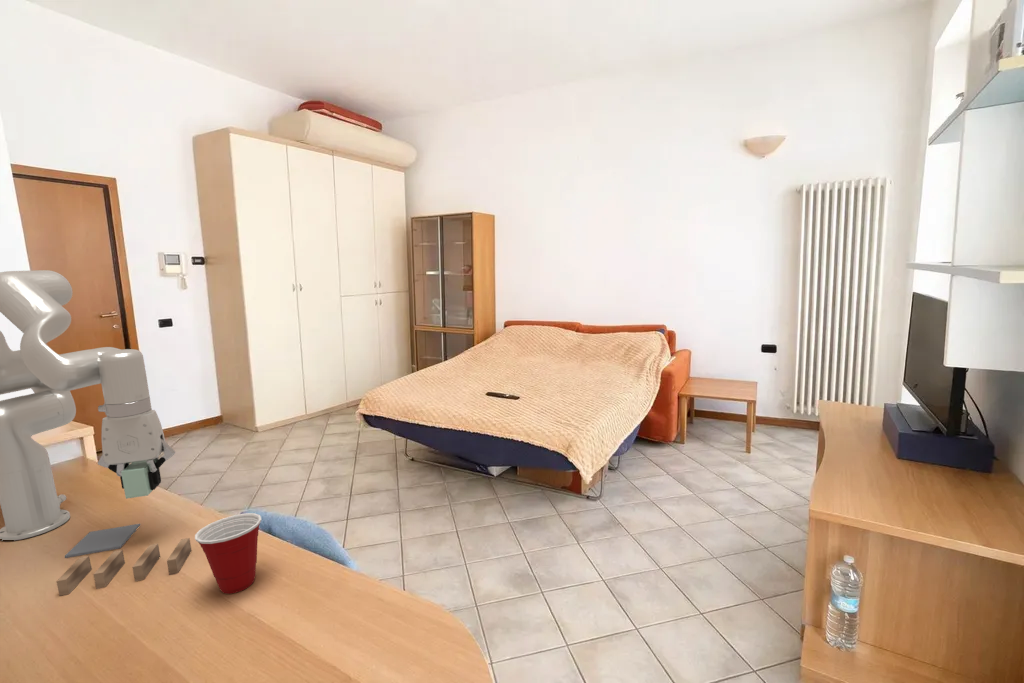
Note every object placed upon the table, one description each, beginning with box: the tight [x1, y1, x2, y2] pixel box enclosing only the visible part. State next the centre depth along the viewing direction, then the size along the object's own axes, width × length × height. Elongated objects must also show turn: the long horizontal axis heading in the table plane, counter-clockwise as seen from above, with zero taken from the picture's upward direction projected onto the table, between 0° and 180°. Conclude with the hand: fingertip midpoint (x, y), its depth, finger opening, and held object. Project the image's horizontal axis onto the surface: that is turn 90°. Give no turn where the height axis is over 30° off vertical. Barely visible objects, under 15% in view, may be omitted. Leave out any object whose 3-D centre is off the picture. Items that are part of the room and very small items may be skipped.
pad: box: [64, 523, 141, 559], centre depth 110 cm, size 10×10×1 cm
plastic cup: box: [194, 512, 262, 595], centre depth 91 cm, size 11×11×12 cm
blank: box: [121, 461, 154, 499], centre depth 107 cm, size 7×4×6 cm, turn 17°
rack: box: [56, 537, 193, 597], centre depth 98 cm, size 8×19×3 cm, turn 106°
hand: (142, 488), depth 107 cm, fingers closed on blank, 4 cm apart
